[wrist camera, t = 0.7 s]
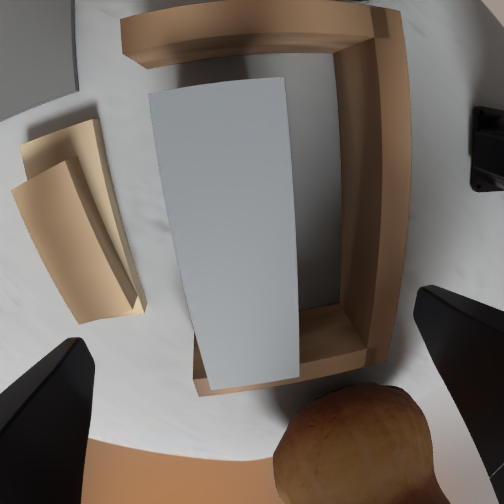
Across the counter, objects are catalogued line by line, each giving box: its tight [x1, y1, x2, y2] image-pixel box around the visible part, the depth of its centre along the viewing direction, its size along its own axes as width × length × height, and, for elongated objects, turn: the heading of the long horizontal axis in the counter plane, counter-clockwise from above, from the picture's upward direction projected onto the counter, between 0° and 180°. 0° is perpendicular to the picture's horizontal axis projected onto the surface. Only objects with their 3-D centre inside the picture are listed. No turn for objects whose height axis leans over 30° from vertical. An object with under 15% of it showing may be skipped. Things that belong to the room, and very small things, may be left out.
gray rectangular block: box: [148, 77, 299, 390], centre depth 14 cm, size 4×12×8 cm, turn 6°
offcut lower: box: [20, 119, 147, 319], centre depth 17 cm, size 5×12×2 cm, turn 7°
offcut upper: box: [11, 156, 138, 324], centre depth 16 cm, size 4×9×2 cm, turn 15°
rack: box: [120, 0, 411, 397], centre depth 16 cm, size 12×20×5 cm, turn 6°
